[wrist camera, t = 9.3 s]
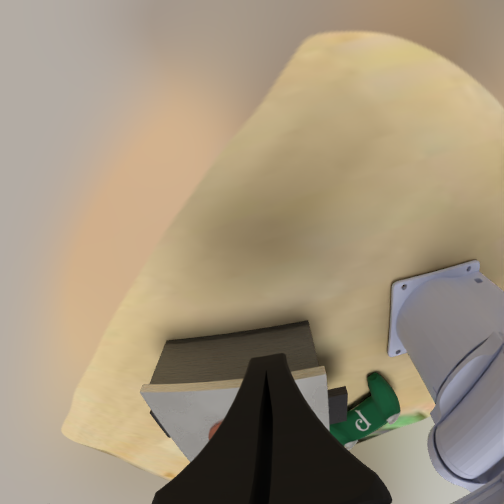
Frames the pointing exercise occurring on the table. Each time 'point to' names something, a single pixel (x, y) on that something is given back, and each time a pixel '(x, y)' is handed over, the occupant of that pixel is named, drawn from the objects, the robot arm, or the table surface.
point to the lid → (218, 406)
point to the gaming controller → (368, 413)
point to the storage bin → (242, 359)
